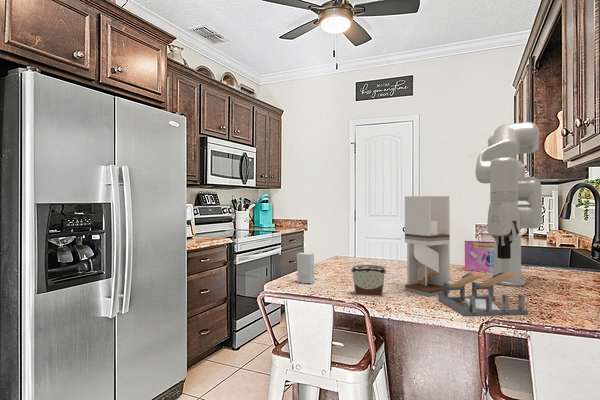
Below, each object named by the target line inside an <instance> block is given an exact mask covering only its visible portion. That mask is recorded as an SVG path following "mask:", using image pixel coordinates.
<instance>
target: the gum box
mask: <svg viewBox="0 0 600 400" xmlns="http://www.w3.org/2000/svg"><path fill="white" fill-rule="evenodd" d="M465 270H474V271H473V272H478V271H484V272H483V273H492V271H493V270H494V241H481V240H480V241H479V240H465V241H464V271H465Z"/></svg>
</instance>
